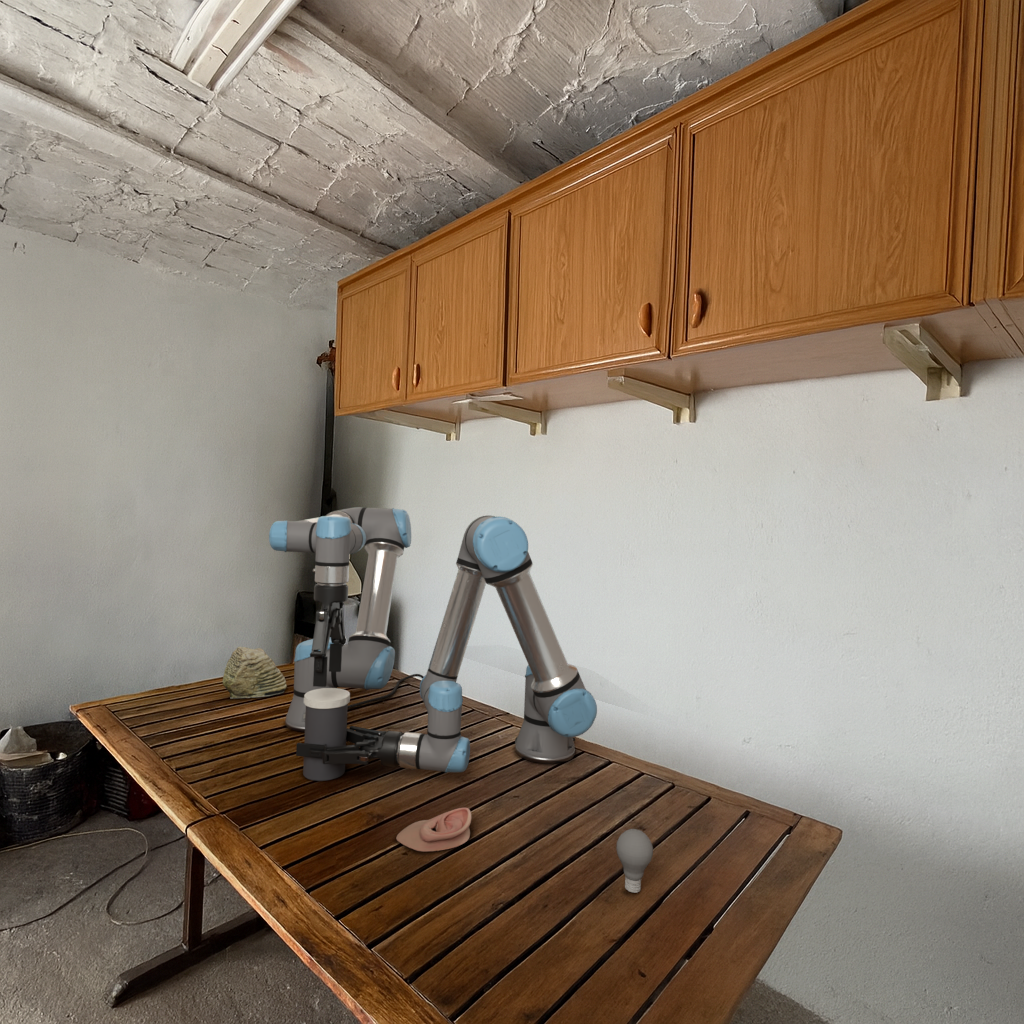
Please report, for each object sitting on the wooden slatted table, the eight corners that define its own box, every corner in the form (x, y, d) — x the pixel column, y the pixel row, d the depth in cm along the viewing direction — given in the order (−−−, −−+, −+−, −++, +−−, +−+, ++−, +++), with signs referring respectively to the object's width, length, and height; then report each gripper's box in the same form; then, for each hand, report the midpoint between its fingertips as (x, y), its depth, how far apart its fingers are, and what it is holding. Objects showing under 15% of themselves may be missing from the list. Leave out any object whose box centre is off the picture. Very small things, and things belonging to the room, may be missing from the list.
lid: (332, 711, 139) (333, 704, 139) (294, 704, 142) (294, 697, 142) (358, 698, 149) (358, 691, 148) (321, 692, 152) (322, 685, 152)
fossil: (218, 695, 195) (220, 647, 195) (278, 685, 208) (279, 640, 207) (228, 703, 189) (230, 653, 188) (289, 692, 201) (290, 645, 201)
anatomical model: (390, 825, 115) (412, 796, 127) (389, 846, 116) (411, 816, 127) (460, 836, 113) (476, 806, 124) (459, 858, 113) (476, 826, 124)
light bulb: (610, 879, 108) (613, 822, 108) (644, 879, 109) (647, 822, 109) (619, 902, 102) (622, 840, 102) (655, 901, 103) (658, 840, 103)
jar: (329, 783, 140) (332, 705, 140) (294, 776, 143) (297, 699, 143) (353, 767, 149) (355, 693, 148) (319, 760, 152) (322, 688, 151)
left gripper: (329, 576, 157) (326, 664, 157) (297, 590, 133) (293, 693, 133) (360, 578, 157) (356, 665, 157) (333, 591, 133) (329, 694, 133)
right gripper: (385, 787, 133) (283, 777, 135) (413, 747, 155) (325, 739, 157) (386, 752, 133) (284, 742, 135) (415, 716, 154) (326, 709, 157)
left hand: (327, 678), depth 145 cm, fingers open, 11 cm apart
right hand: (306, 740), depth 146 cm, fingers closed on jar, 9 cm apart
